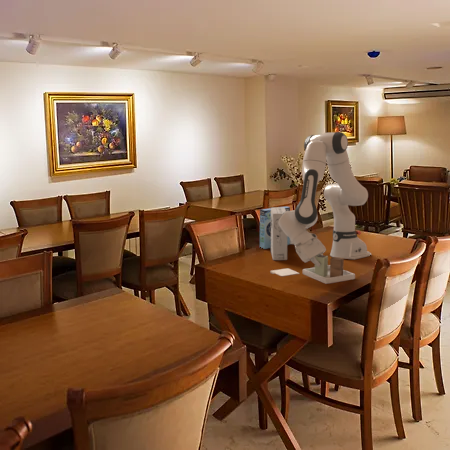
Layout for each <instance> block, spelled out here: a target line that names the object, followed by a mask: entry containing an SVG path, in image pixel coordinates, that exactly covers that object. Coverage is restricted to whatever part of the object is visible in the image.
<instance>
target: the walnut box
mask: <svg viewBox="0 0 450 450" xmlns="http://www.w3.org/2000/svg"><path fill="white" fill-rule="evenodd" d="M344 260H345V259H344V258H340V257H332V258H330V263H329V265H330V278H331V277H337V276H343V270H344Z"/></svg>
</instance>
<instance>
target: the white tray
mask: <svg viewBox="0 0 450 450" xmlns="http://www.w3.org/2000/svg"><path fill="white" fill-rule="evenodd" d="M302 275H304V276H306V277H309V278H311V279H314V280H315V281H318V282H320V283H323V284H325V285H327V284H328V285H329V284H334V283H339V282H340V283H341V282H346V281H351V280H356V274H355V273H353V272H351V271H348V270H345V269H343V276H337V277H331V278H330V264H328V275H327V276H325V277H322V276H320V275H317V274H315V266H313V267H310V268H303V269H302Z"/></svg>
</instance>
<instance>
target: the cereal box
mask: <svg viewBox="0 0 450 450" xmlns="http://www.w3.org/2000/svg"><path fill="white" fill-rule="evenodd" d="M276 207H277V206H276ZM276 207H270V208H271V248H270V254H271V257H272V261H287V260H288V245H287V235H286V234H285V233H284V232H283V230H282V229H281V227H280V226H279V223H278V221H279V218H280V217H281V215H282V214H283V213H284V212H286V210H285V208H284V206H278V207H277V208H276Z"/></svg>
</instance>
